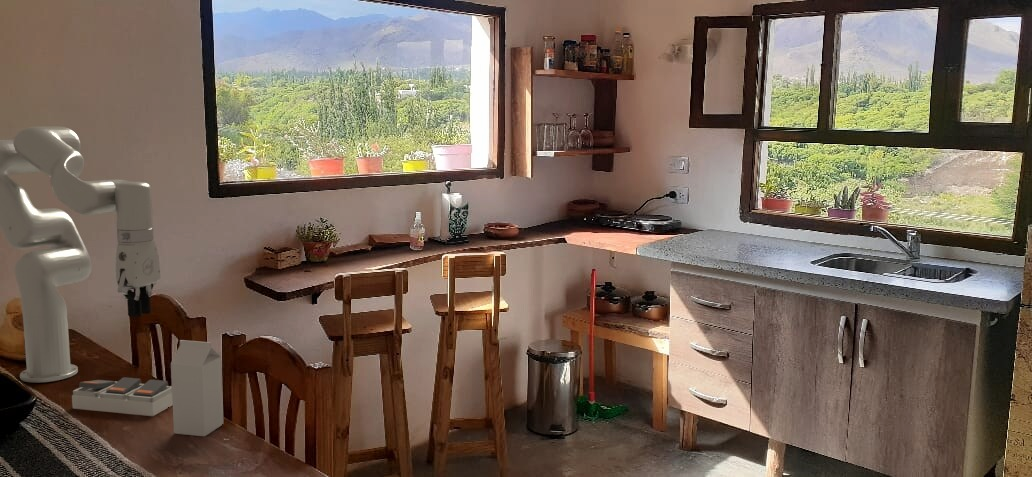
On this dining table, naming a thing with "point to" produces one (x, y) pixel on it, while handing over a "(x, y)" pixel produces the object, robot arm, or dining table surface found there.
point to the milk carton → (196, 389)
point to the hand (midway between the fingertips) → (139, 314)
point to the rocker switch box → (121, 401)
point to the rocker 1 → (96, 384)
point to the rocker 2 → (124, 385)
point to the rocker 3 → (151, 388)
